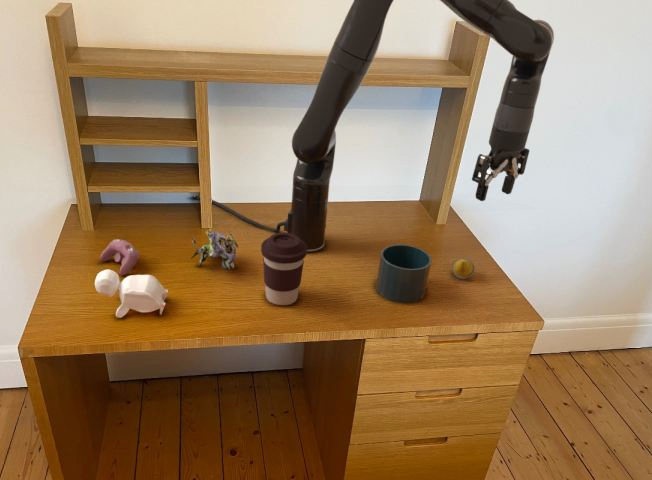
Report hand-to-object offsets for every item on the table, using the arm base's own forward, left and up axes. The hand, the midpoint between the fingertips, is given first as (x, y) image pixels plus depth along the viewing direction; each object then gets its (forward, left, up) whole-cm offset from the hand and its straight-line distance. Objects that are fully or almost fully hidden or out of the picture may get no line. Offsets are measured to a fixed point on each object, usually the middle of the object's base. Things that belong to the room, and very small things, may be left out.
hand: (493, 196), depth 131 cm
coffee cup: (-39, -27, -24) cm, 53 cm away
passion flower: (-59, -22, -24) cm, 67 cm away
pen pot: (-15, -11, -23) cm, 30 cm away
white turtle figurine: (-66, -45, -24) cm, 83 cm away
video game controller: (-79, -32, -24) cm, 88 cm away
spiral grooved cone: (-2, +1, -24) cm, 24 cm away
